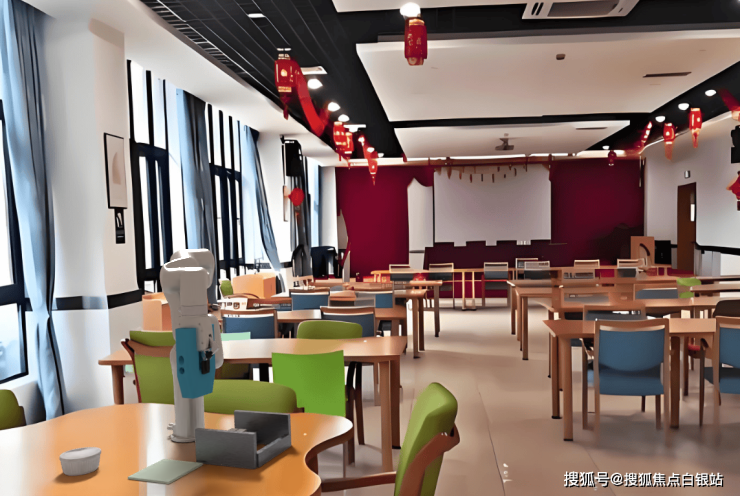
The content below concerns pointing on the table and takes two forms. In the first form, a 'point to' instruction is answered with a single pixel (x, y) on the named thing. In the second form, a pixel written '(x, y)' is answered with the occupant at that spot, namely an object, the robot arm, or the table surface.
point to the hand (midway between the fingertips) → (196, 372)
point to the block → (192, 365)
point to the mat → (165, 471)
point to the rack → (245, 440)
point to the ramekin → (80, 460)
